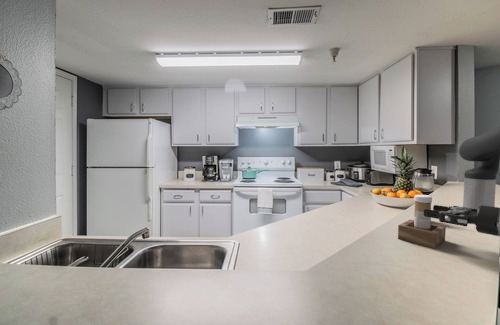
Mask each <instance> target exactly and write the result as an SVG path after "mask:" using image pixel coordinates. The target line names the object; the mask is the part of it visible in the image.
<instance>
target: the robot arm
mask: <svg viewBox="0 0 500 325" xmlns="http://www.w3.org/2000/svg"><path fill="white" fill-rule="evenodd" d="M458 154H459V156H460V157H461V158H462V159H463V160H465V161H468V162H479V164H478V165H477V166H475V167H474V168H470V169H467V170H466V171H465V172H464V174H463V175H464V179H463V200H462V201H463V202H462V206H457V205H450V206H446V205H445V206H444V205H439V204H435V205H433V207H432V209H431V210H429V209H425V210H424V216H425V217H430V218H431V219H436V220H438V221H439V223H443V224H444V223H445V224H450V225H456V226H462V227H468V225H469V224H470V225H475V230H476V231H477V232H478V233H480V234H485V235H491V236H495V237H500V207H498V206H497V207H496V187H497V186H496V183H497V180H496V179H497V175H498V173H499V170H500V125H499V126H498V127H494V128H493V129H491V130H489V131H486V132H485V133H482V134H479V135H476V136H474V137H470V138H468V139H465V140H464V141H463V142H462V143H461V144H460V146H459V150H458ZM446 217H447V218H446Z"/></svg>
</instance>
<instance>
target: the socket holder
mask: <svg viewBox="0 0 500 325" xmlns="http://www.w3.org/2000/svg"><path fill="white" fill-rule="evenodd" d="M397 239H398V240H401V241H404V242H408V243H413V244H415V245H416V244H417V245H420V246H424V247H427V248H431V249H437V248H438V247H439V246H440V245H441V244H443V243H444V242H445V241H446V226H444V225H439V224H434V223H431V228H430V231H428V230H423V229H419V228H414V219H409V220H407V221H405V222H402V223H400V224H399V225H398V229H397ZM436 247H437V248H436Z"/></svg>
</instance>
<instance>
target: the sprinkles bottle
mask: <svg viewBox="0 0 500 325" xmlns="http://www.w3.org/2000/svg"><path fill="white" fill-rule="evenodd" d="M413 198H414V217H413V220H414V228H419V229H423V230H428V231H430V228H431V224H432V218H430V217H425V216H424V210H425V209H429V210H432V201H433V197H432V196H431V195H427V194H415V195H414V197H413Z"/></svg>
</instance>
